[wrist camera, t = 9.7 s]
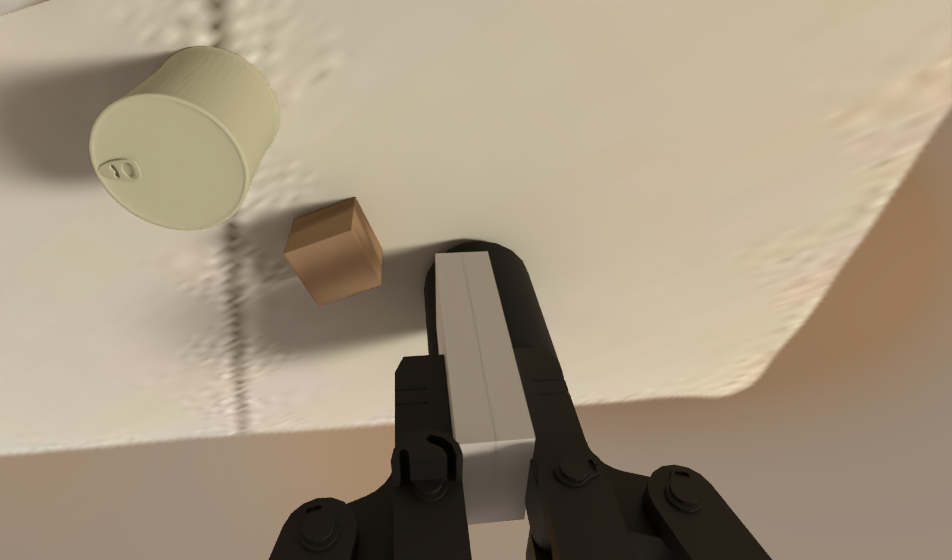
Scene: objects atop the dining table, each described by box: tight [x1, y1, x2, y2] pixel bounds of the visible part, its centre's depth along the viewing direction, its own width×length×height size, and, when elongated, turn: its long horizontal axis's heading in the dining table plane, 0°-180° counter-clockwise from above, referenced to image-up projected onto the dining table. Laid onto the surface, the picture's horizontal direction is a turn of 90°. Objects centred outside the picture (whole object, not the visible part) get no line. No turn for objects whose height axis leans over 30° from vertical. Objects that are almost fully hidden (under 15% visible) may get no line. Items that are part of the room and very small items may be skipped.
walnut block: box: [284, 197, 382, 307], centre depth 49 cm, size 6×6×6 cm
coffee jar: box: [424, 241, 571, 397], centre depth 49 cm, size 11×11×18 cm
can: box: [89, 46, 279, 230], centre depth 39 cm, size 9×9×12 cm
